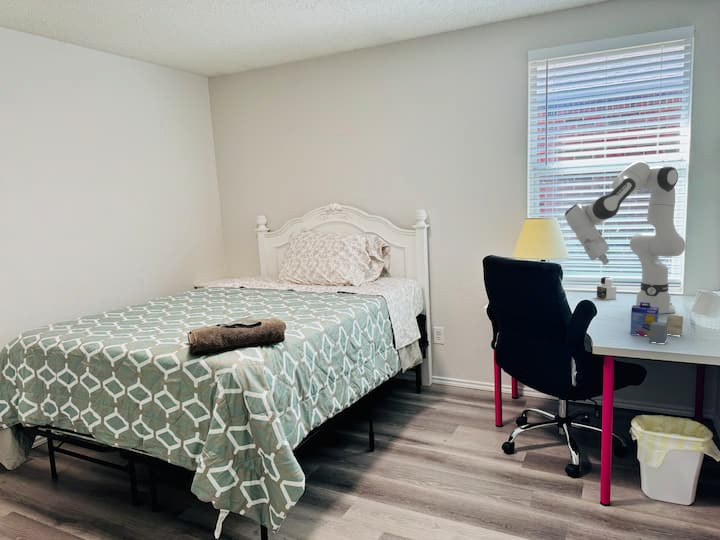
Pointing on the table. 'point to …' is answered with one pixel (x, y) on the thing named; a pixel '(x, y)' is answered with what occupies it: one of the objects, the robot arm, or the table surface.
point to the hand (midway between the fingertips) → (606, 263)
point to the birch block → (674, 324)
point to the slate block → (658, 332)
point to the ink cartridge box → (643, 318)
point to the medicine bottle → (606, 289)
